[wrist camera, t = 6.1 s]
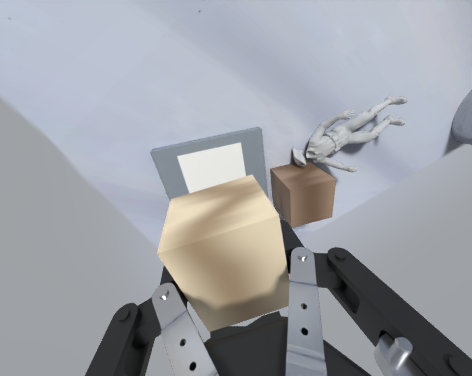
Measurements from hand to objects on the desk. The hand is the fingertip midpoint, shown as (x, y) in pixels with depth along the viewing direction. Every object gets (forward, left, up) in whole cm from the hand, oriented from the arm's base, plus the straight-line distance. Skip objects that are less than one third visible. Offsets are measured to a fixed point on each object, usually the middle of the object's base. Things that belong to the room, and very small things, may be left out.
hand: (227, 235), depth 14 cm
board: (0, 0, -10) cm, 10 cm away
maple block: (0, 0, -1) cm, 1 cm away
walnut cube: (-10, +3, -10) cm, 14 cm away
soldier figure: (-22, -4, -9) cm, 24 cm away
